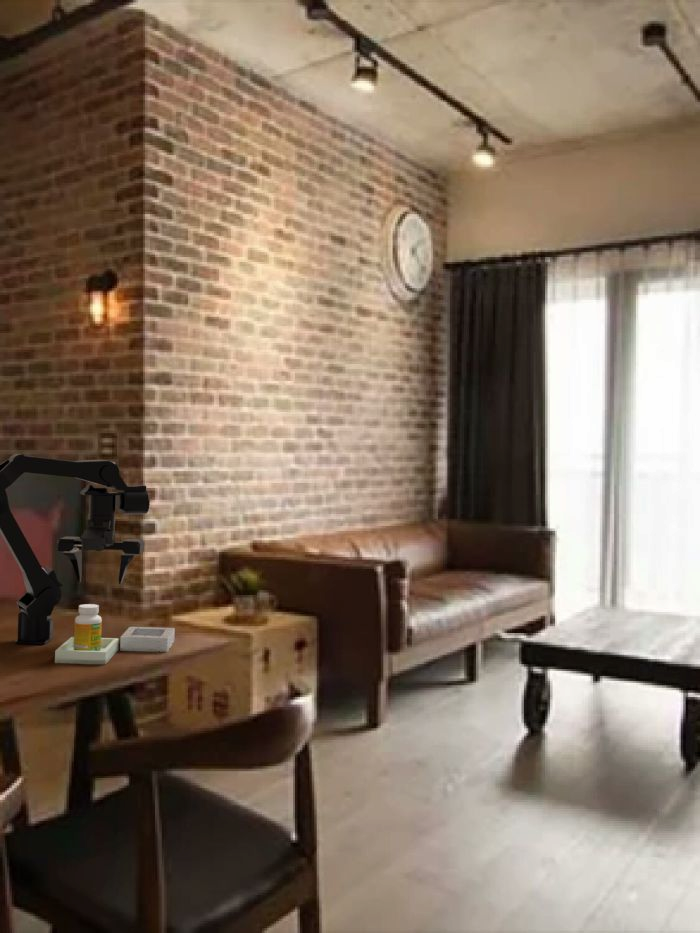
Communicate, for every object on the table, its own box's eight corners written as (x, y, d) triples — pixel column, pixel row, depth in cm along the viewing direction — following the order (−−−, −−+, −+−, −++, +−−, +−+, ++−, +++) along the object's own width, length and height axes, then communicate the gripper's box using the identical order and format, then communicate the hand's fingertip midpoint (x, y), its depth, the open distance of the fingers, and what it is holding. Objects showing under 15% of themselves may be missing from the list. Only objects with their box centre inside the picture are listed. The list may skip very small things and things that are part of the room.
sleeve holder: (120, 650, 186) (120, 636, 186) (129, 639, 196) (130, 626, 196) (167, 652, 187) (167, 638, 186) (174, 641, 197) (174, 628, 196)
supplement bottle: (92, 656, 177) (94, 609, 177) (68, 654, 178) (70, 606, 178) (105, 650, 182) (107, 604, 182) (81, 648, 183) (83, 602, 183)
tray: (54, 663, 174) (55, 650, 174) (70, 648, 186) (71, 636, 186) (105, 664, 175) (105, 652, 174) (118, 649, 187) (118, 638, 186)
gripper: (49, 516, 190) (47, 587, 190) (135, 519, 190) (133, 590, 191) (64, 512, 201) (62, 579, 201) (146, 515, 201) (143, 582, 202)
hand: (99, 582), depth 199 cm, fingers open, 9 cm apart
